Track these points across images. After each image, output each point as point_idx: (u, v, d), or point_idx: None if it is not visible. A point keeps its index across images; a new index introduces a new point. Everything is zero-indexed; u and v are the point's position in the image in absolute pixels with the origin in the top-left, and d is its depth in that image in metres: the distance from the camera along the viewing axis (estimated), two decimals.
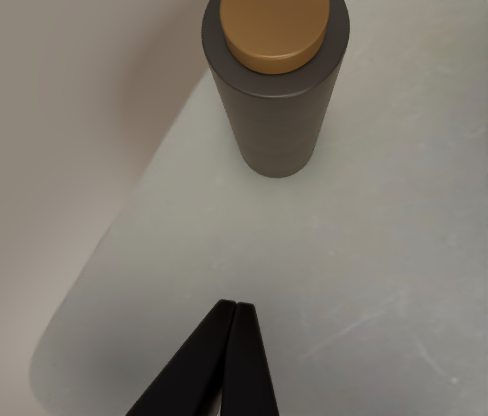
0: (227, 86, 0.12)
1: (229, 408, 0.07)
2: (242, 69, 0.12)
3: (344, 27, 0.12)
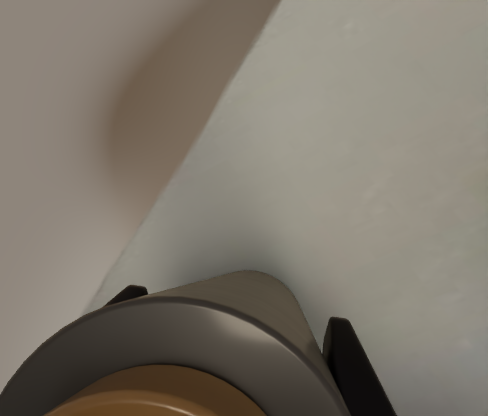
0: None
1: None
2: None
3: None
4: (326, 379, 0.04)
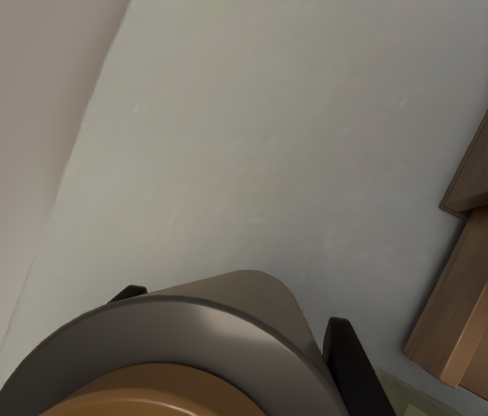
0: None
1: None
2: None
3: None
4: (324, 377, 0.04)
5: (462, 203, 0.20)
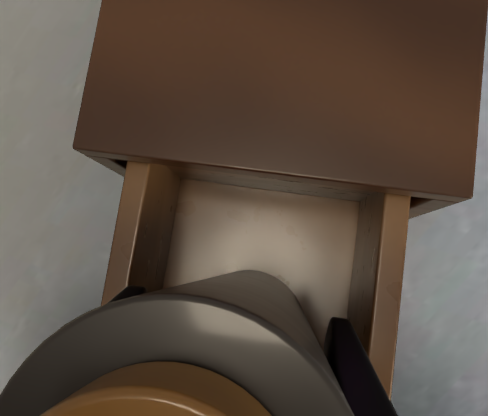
0: None
1: None
2: None
3: None
4: (328, 376, 0.04)
5: None
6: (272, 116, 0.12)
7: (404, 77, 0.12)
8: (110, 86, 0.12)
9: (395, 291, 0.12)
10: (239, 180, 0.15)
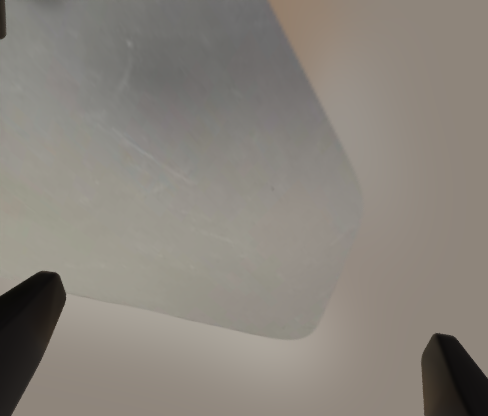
0: None
1: None
2: None
3: None
4: None
5: None
6: None
7: None
8: None
9: None
10: None
